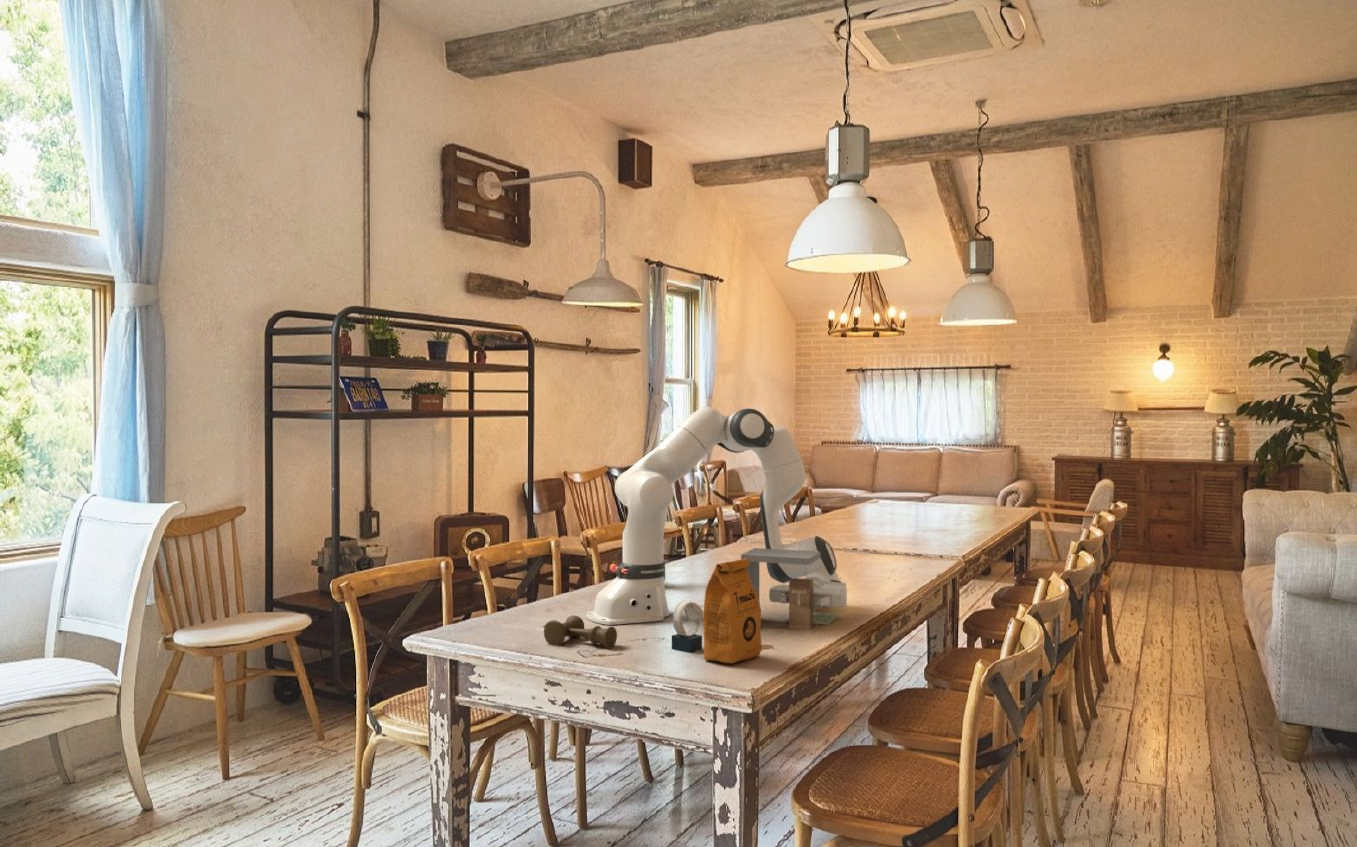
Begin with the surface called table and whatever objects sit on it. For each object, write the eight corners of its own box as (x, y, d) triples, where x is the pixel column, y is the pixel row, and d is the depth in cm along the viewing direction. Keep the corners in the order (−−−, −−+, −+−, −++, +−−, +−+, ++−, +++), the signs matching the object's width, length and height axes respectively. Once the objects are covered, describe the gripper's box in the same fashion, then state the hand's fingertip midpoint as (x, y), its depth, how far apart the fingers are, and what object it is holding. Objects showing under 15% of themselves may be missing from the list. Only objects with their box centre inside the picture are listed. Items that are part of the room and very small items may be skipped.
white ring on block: (707, 647, 220) (707, 600, 220) (685, 654, 214) (685, 606, 214) (688, 643, 224) (688, 597, 224) (666, 650, 218) (666, 602, 217)
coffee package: (768, 658, 211) (768, 559, 210) (730, 669, 202) (730, 566, 202) (735, 650, 218) (735, 554, 217) (697, 660, 209) (697, 561, 209)
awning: (755, 617, 251) (755, 548, 251) (820, 623, 244) (820, 551, 244) (741, 627, 240) (741, 554, 240) (809, 633, 233) (809, 558, 233)
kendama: (601, 655, 216) (530, 642, 226) (623, 646, 225) (554, 634, 234) (602, 628, 216) (531, 617, 226) (624, 621, 225) (555, 610, 234)
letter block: (794, 624, 243) (794, 578, 243) (813, 626, 242) (813, 579, 241) (789, 628, 239) (789, 581, 238) (808, 630, 237) (808, 582, 237)
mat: (796, 612, 258) (796, 611, 258) (836, 615, 253) (836, 614, 253) (786, 621, 247) (786, 619, 247) (827, 624, 243) (827, 623, 243)
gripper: (776, 577, 257) (761, 586, 244) (851, 582, 249) (840, 591, 237) (776, 600, 257) (761, 610, 244) (851, 606, 249) (840, 617, 237)
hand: (801, 601), depth 240 cm, fingers open, 8 cm apart
